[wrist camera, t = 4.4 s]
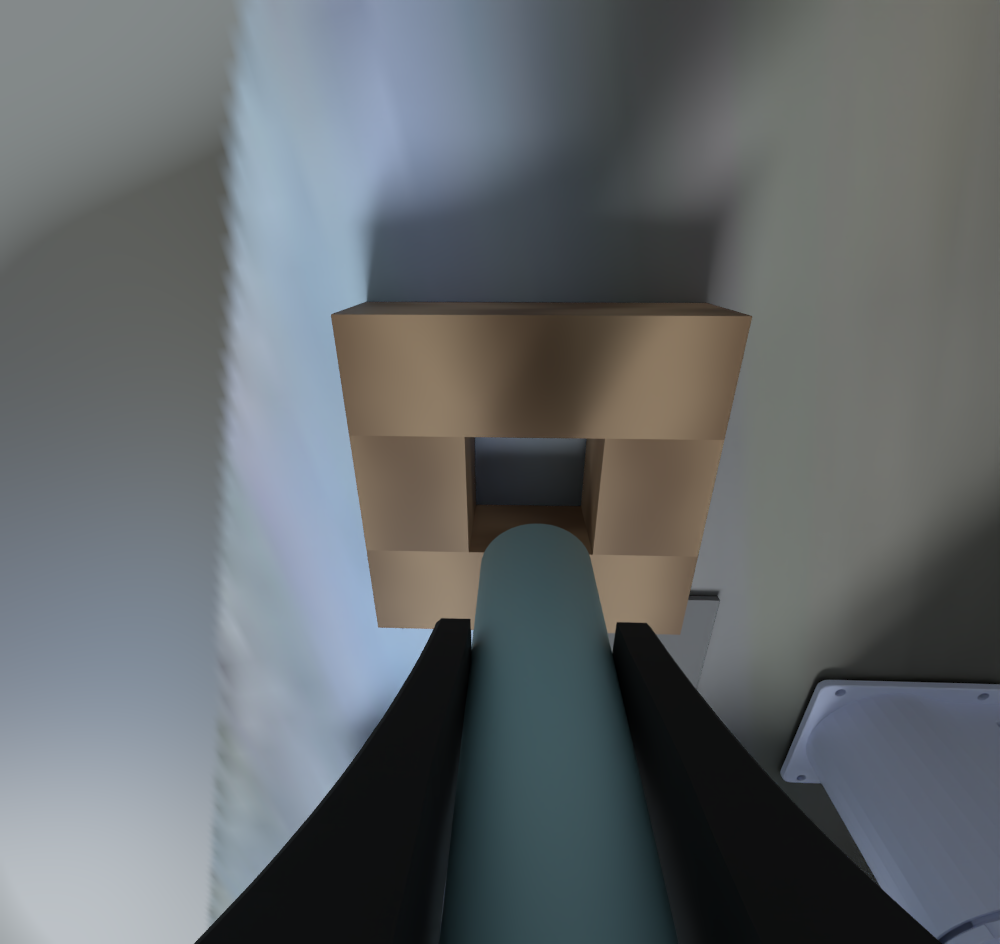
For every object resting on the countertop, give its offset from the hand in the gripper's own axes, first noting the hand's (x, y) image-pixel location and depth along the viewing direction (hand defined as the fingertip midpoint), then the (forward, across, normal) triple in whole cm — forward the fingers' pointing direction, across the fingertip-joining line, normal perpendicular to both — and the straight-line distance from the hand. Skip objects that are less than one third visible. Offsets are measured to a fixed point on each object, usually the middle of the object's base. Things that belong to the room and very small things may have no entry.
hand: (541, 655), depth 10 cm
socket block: (+10, 0, 0) cm, 10 cm away
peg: (+3, 0, 0) cm, 3 cm away
